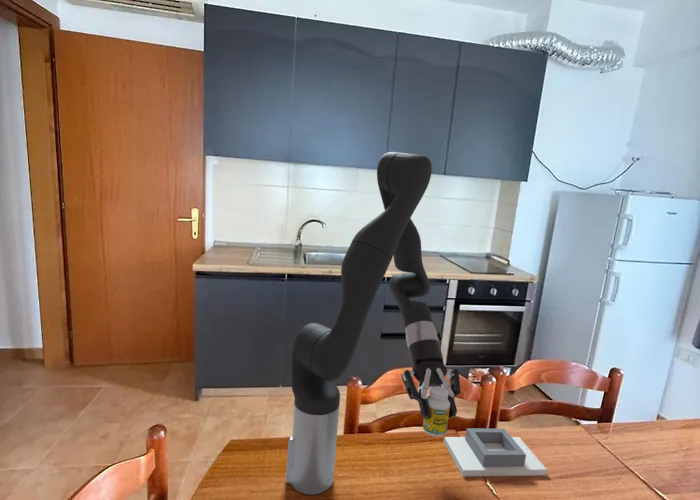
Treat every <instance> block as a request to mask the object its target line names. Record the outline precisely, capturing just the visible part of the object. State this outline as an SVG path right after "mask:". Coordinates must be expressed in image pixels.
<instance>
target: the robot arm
mask: <svg viewBox="0 0 700 500" xmlns="http://www.w3.org/2000/svg"><path fill="white" fill-rule="evenodd" d="M432 170H433V165H432V161H431V160H430V158H429V157H427V155H426V156H425V155H422V154H417V153H407V152H399V151H388V152H386V153H384V154H383V155H382V156H381V158H380V160H379V161H378V164H377V170H376V179H377V186H378V190H379V193H380V197H381V201H382V204H383V208H384V211H383V212H381V213H380V214H378V216H376V217H375V218H373V219H372V220H370V221H369V222H368V223H366V225H364V226H363V227H362V228H361V229H359V231H358V232H357V233H356V234H355V235H354V237H353V239H352V240H351V242H350V245H349V247H348V249H347V251H346V253H345V255H344V257H343V260H342V263H341V269H340V276H341V277H340V278H341V280H340V281H341V295H342V296H341V305H340V308H339V312H338V314H337V317H336V318H335V319H336V320H335V322H334V323H333V326H332V328H331V327H328V326H326V325H324V324H320V323H316V322H311V323H307V324H306V325H304V326H303V327H301V329H300V330H299V331H298V332H297V334H296V335H295V338H294V340H293V345H292V348H291V349H292V350H291V374H290V375H291V390H292V393H293V396H294V400H293V401H294V403H293V404H294V405H293V419H292V421H293V422H292V435H291V436H290V437H289V439H288V442H287V454H286V455H287V457H286V471H285V472H286V473H285V483H287V484H290V485H291V487H292V488H293V489H294V490H296V492H298V493H301V494H305V495H318V494H321V493H325V492H326V491H327V490H329V489H330V488H331V487H332V485H333V483H334V477H335V476H334V475H335V466H336V465H335V462H336V451H337V440H338V439H337V438H338V427H339V414H340V402H341V393H340V390H339V388H338V386H337V385H336V383H335V382H334V381H335V380H337V379H339V378H341V377H342V376H343V375H344V373H345V372H346V370H347V369H348V367H349V365H350V364H351V361H352V359H353V356H354V354H355V352H356V349H357V346H358V343H359V339H360V337H361V335H362V330H363V328H364V324H365V321H366V318H367V316H368V314H369V312H370V309H371V306H372V303H373V302H374V299H375V297H376V294H377V292H378V289H379V288H380V285H381V284H382V281H383V280H384V277H385V275H386V273H387V271H388V269H389V266H390V264H391V262H392V259H393V261H394V262H393V264H394V266H395V268H396V269H397V270H398V271H400V273H397V274H394V275H392V276H391V277H390V279H389V283H388V286H389V290H390V293H391V296H392V297H393V299H394V301H395V302H396V305H398V308H399V310H400V313H401V316H402V320H403V325H404V328H405V330H404V331H405V339H406V344H407V348H408V353H409V357H410V362H411V366H412V367H411V368H412V370H408V369H406V370H404V372H402V373H401V379H402V382H403V384H404V387H405V390H406V392H407V393H406V394H407V395H408V398H409V399H410V400H415V401H417V402H418V405H419V410H420V415H421V417H423V419H429V418H431V413H430V408H429V404H428V399H426V398H427V395H428V389H429V388H431V387H433V386H439V387H443V388H445V389H447V390H448V400H449V402H450V410H449V418H448V419H451V418H452V419H453V418H455V417H456V415H457V414H458V409H457V406H456V405H457V404H456V401H455V398H456V397H457V396H459V395H461V393H462V392H461V381H460V372H459V371H460V370H459V369H458V368H454V369H450V368H447V367H446V365H445V364H444V363H445V362H444V357H443V352H442V349H441V345H440V340H439V337H438V334H437V330H436V328H435V326H434V323H433V322H434V321H433V318H432V314H431V310H430V307H429V305H428V304H427V303H426V302H423V301H415V300H413V299H418V298H423V297H426V296H427V295H428V294H429V292H430V291H431V283H430V279H429V277H428V275H427V272H426V269H425V267H424V263H423V255H422V241H421V236H420V233H419V231H418V229H417V226H416V225H415V223H414V222H413V220H412V216H413V214H414V212H415V211H416V209H417V207H418V206H419V204H420V202H421V200H422V199H423V196H424V195H425V193H426V191H427V188H428V186H429V183H430V181H431V177H432V172H433V171H432ZM411 299H412V300H411ZM446 376H447V378H448V379H449V381H448V380H447V378H446ZM414 378H415V379H416V381H418V384H417V385H418V386H417V387H416V384H415V381H414Z"/></svg>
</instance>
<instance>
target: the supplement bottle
mask: <svg viewBox="0 0 700 500" xmlns="http://www.w3.org/2000/svg"><path fill="white" fill-rule="evenodd" d="M429 388H430V389H429V395H428V396H426V399H428V404H429V408H430V413H431V418H429V419H424V418H422V419H423V421H422V430H423V431H424V433H426V434H427V435H429V436H432V437H435V438H439V437H443V436H444V437H445V435H446V433H447V431H448V430H447V429H448V424H449V419H450V418H449V410H450V402H449V400H448V390H447V389H445V388H443V387H439V386H433V387H429Z"/></svg>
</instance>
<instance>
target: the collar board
mask: <svg viewBox="0 0 700 500" xmlns="http://www.w3.org/2000/svg"><path fill="white" fill-rule="evenodd" d="M443 439H444V440H443V444H444V445H445V447H446V449H447V450H448V451H447V452H448V453H449V455H450V456H451V458H452V460H453V462H454V463H455V465H456V467H457V470H459V472H460V474H461V476H462V477H510V476H511V477H514V476H515V477H517V476H518V477H519V476H521V477H522V476H523V477H524V476H525V477H526V476H529V477H530V476H531V477H532V476H534V477H535V476H547V472H548V469H547V468H546V466H544V464H543V463H542V462H541V461H540V459H538V457H537V456H536V455H535V453H533V451H532V450H531V449H530V448H529V447H528V445H527V444H526V443H525V442H524V441H523V440H522V439H521V437H520V436H511V435H510V433H508V431H507V430H506V429H505V428H484V427H483V428H482V427H481V428H479V427H478V428H473V427H472V428H465V436H444V438H443Z"/></svg>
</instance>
